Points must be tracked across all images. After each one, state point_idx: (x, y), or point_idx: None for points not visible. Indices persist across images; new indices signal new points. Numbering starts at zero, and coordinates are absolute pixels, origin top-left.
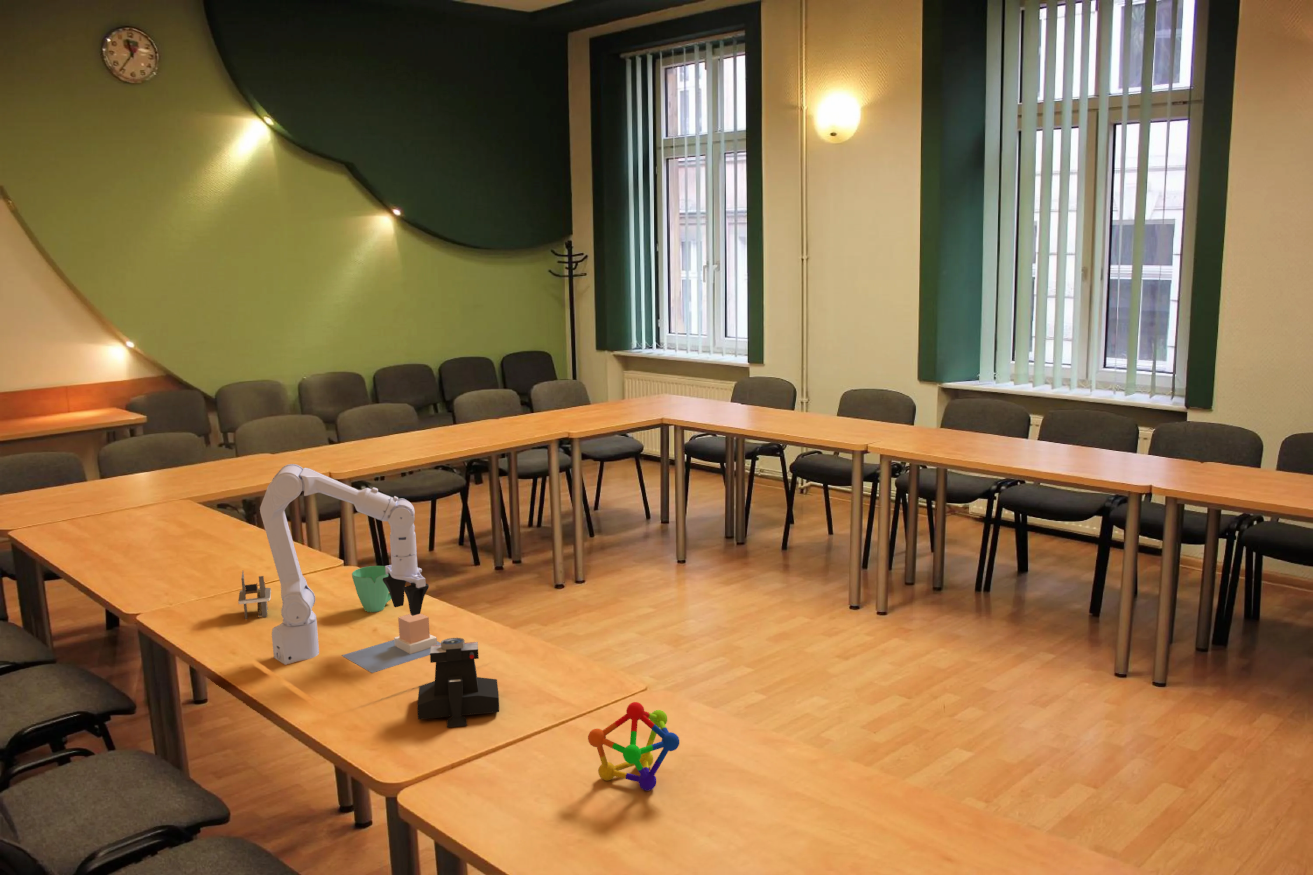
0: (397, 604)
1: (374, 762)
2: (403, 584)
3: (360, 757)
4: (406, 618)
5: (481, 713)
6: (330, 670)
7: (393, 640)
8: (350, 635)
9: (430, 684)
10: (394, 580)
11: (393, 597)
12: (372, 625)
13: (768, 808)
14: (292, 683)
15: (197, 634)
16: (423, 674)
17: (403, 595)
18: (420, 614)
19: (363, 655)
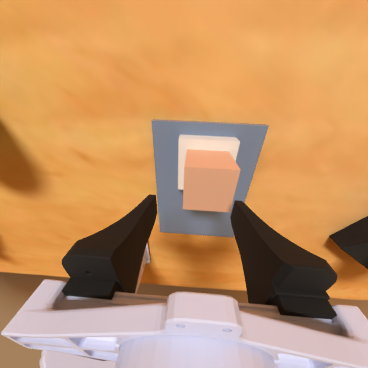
0: (155, 211)
1: (358, 294)
2: (132, 235)
3: (342, 294)
4: (203, 203)
5: None
6: (182, 246)
7: (158, 172)
8: (89, 189)
9: (364, 248)
10: (129, 283)
11: (149, 234)
12: (60, 148)
13: None
14: (184, 269)
15: (20, 263)
16: (286, 201)
17: (146, 209)
18: (207, 171)
19: (179, 220)
